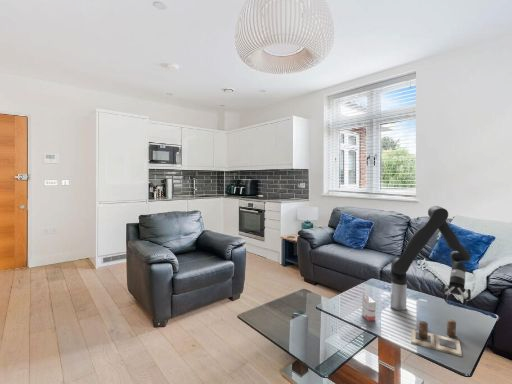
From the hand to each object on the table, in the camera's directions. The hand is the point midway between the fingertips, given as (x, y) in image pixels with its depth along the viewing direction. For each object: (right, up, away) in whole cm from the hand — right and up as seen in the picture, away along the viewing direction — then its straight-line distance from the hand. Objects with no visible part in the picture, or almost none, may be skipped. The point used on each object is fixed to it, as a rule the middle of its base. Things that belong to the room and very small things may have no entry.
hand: (454, 303), depth 163 cm
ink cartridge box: (-46, -14, +12) cm, 49 cm away
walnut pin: (-7, -15, -8) cm, 18 cm away
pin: (-26, -14, -12) cm, 31 cm away
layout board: (-21, -15, -15) cm, 30 cm away
